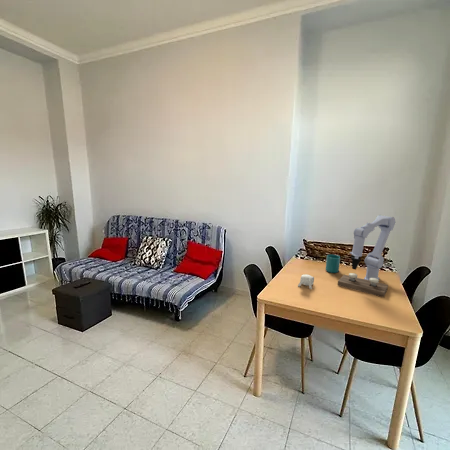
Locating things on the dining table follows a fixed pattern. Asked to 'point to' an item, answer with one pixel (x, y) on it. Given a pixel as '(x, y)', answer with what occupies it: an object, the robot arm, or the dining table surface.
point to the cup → (332, 263)
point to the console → (363, 286)
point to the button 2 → (373, 281)
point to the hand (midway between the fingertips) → (354, 267)
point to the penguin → (306, 280)
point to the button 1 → (352, 276)
